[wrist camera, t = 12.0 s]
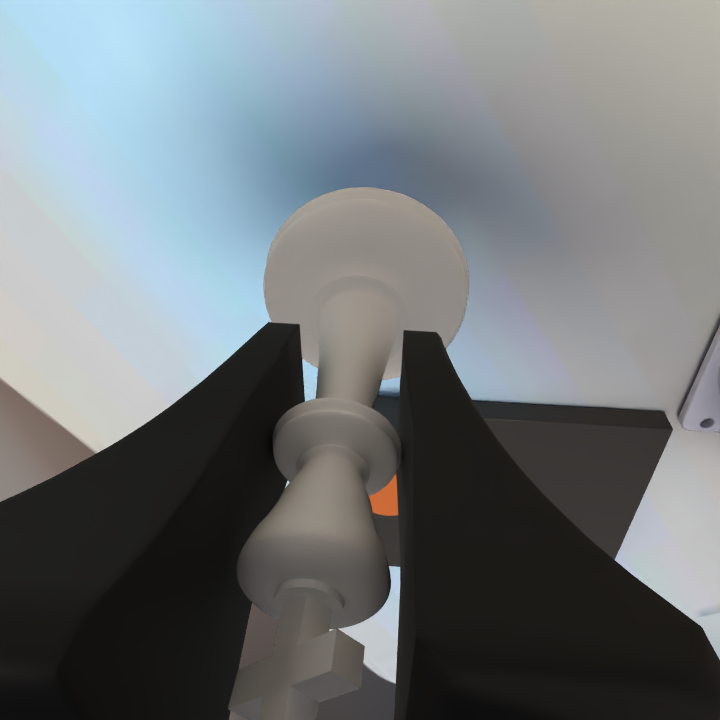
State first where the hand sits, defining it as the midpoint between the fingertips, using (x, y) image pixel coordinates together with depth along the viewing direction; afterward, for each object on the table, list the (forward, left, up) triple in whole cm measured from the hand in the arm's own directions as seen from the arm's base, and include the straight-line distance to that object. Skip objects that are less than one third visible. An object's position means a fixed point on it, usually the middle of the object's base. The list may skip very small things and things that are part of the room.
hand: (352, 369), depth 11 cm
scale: (-6, +15, -10) cm, 19 cm away
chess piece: (0, 0, -4) cm, 4 cm away
